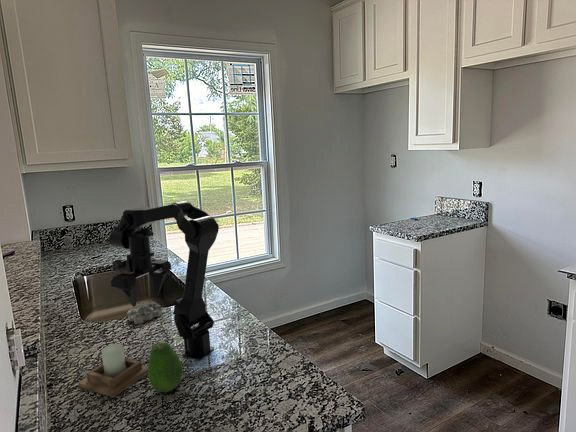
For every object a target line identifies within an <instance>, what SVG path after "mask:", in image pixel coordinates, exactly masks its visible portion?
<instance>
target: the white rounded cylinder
mask: <svg viewBox="0 0 576 432" xmlns="http://www.w3.org/2000/svg"><path fill="white" fill-rule="evenodd" d="M101 358H102V363H103V366H104V375H105V376H108V377H112V378H114V377H115V376H117V375H118V374H120V373H121V372H123V371H124V370H126V365H125V358H126V357H125V349H124V345H123V344H122V343H113V344H109V345H106V346H105V347H103V348H102V349H101Z"/></svg>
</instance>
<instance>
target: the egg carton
mask: <svg viewBox="0 0 576 432" xmlns="http://www.w3.org/2000/svg"><path fill="white" fill-rule="evenodd" d="M163 309H165V307H164V306H163V307H162V305H160V304H158V303H156V301H154V300H153V301H151V302H148V304H145V305H144V304H143V305H140V306H138V307H136V308H131V309H129V310H128V311H127V313H126V315H128V321H129V322H133V323H134V324H135V325H138V324H144V323H145V322H146V321H151V320H153V318H155V317H161V316H162V314H163Z"/></svg>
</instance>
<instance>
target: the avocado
mask: <svg viewBox="0 0 576 432" xmlns="http://www.w3.org/2000/svg"><path fill="white" fill-rule="evenodd" d="M147 366H148V373H147V374H148V380H149V383H150V385H151V386H152V388H153V389H154V390H155V392H159V393H169V392H172V391H173V390H174V389H176V388H177V387H178V386H179V385H180V383H181V381H182V377H183V373H184V372H183V366H182V362H181V359H180V358H179V356H178V354H177V352H176V351H175V350H174V348H173V347H172V345H170V344H169V343H167V342H159V343H157V344H155V345H154V346H153V348H151V351H150V355H149V360H148V365H147Z"/></svg>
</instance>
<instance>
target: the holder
mask: <svg viewBox="0 0 576 432" xmlns="http://www.w3.org/2000/svg"><path fill="white" fill-rule="evenodd" d="M125 365H126V370H124V371H123V372H121V373H120V374H118V375H117V376H115V377H114V378H112V377H108V376H105V375H104V366H103V362H102V363H101V364H99V365H98V366H96V367H94V368H93V369H90V370H89V371H88V372H86V377H85V378H83V379H81V380H80V381H79V382H77V386H78V387H80V388H83V389H86V390H89V391H91V392H95V393H98V394H101V395H104V396H107V397H110V398H116V396H118V395H120V394H121V393H122V392H123V391H125V390H126V389H127V388H129V387H130V386H132V385H133V384H134V383H137V382H138V381H139V380H140V379H142V378H143V377H144V376H146V375H147V374H148V366H149V365H145V364H142V361H139V360H135V359H132V358H128V357H125Z"/></svg>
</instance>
